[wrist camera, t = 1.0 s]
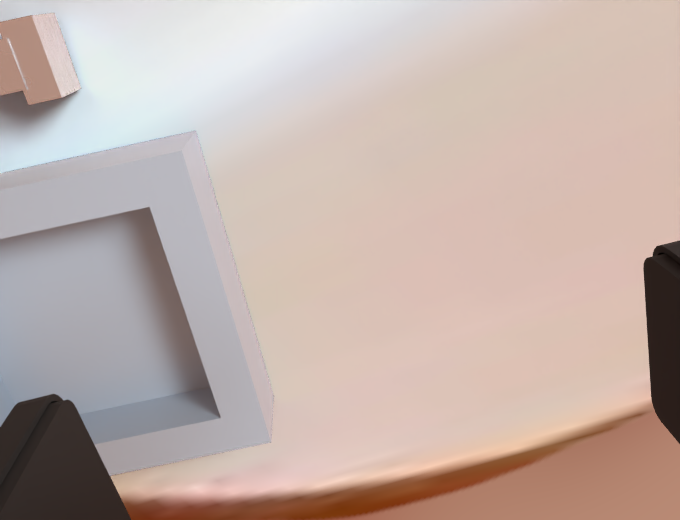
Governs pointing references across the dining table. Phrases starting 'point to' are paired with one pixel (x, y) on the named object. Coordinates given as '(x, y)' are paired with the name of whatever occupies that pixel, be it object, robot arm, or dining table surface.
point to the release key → (35, 59)
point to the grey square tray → (130, 305)
